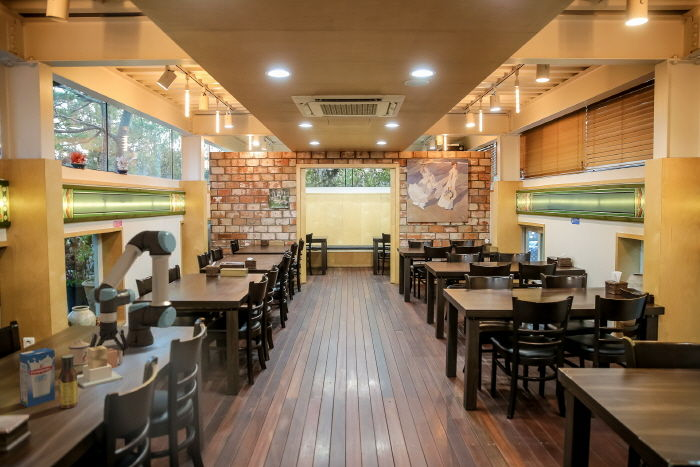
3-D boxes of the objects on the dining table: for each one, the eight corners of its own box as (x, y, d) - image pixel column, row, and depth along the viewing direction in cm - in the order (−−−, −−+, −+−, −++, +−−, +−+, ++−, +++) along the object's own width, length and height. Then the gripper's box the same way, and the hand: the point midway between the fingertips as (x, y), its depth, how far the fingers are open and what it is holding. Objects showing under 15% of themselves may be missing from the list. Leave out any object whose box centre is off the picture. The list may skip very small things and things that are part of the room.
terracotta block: (112, 364, 239) (112, 348, 238) (117, 367, 234) (117, 350, 234) (99, 367, 234) (99, 350, 234) (104, 369, 230) (104, 353, 230)
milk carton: (27, 407, 185) (27, 356, 184) (19, 404, 188) (19, 353, 187) (55, 399, 194) (54, 350, 193) (47, 396, 197) (46, 347, 196)
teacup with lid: (86, 365, 236) (86, 341, 235) (66, 366, 234) (66, 342, 233) (94, 358, 248) (93, 335, 247) (74, 359, 246) (74, 336, 245)
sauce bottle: (64, 403, 190) (63, 353, 189) (80, 402, 191) (80, 353, 190) (55, 409, 184) (55, 358, 183) (72, 409, 184) (72, 358, 183)
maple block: (102, 362, 222) (102, 345, 221) (107, 365, 217) (107, 348, 217) (88, 365, 217) (87, 348, 217) (92, 368, 213) (92, 350, 213)
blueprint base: (109, 370, 229) (109, 358, 228) (122, 379, 218) (122, 366, 218) (71, 378, 217) (71, 365, 217) (84, 388, 206) (84, 374, 206)
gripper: (129, 316, 244) (129, 359, 245) (79, 323, 227) (79, 369, 228) (135, 318, 239) (135, 362, 240) (85, 326, 222) (85, 373, 223)
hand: (108, 365), depth 234 cm, fingers open, 11 cm apart
